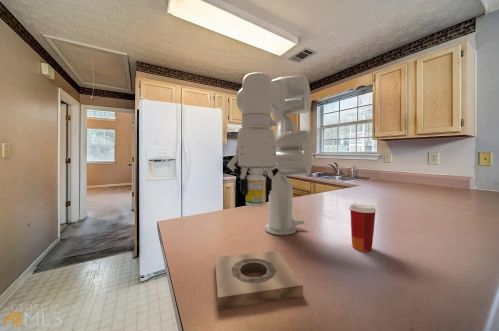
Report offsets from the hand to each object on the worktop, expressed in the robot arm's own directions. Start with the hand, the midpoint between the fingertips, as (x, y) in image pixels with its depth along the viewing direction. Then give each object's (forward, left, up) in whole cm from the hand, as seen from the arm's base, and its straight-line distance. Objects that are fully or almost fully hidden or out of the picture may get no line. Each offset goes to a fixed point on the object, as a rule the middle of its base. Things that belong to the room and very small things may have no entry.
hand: (255, 193), depth 53 cm
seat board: (+2, +4, -20) cm, 21 cm away
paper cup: (-36, -5, -21) cm, 42 cm away
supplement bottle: (0, 0, -3) cm, 3 cm away
